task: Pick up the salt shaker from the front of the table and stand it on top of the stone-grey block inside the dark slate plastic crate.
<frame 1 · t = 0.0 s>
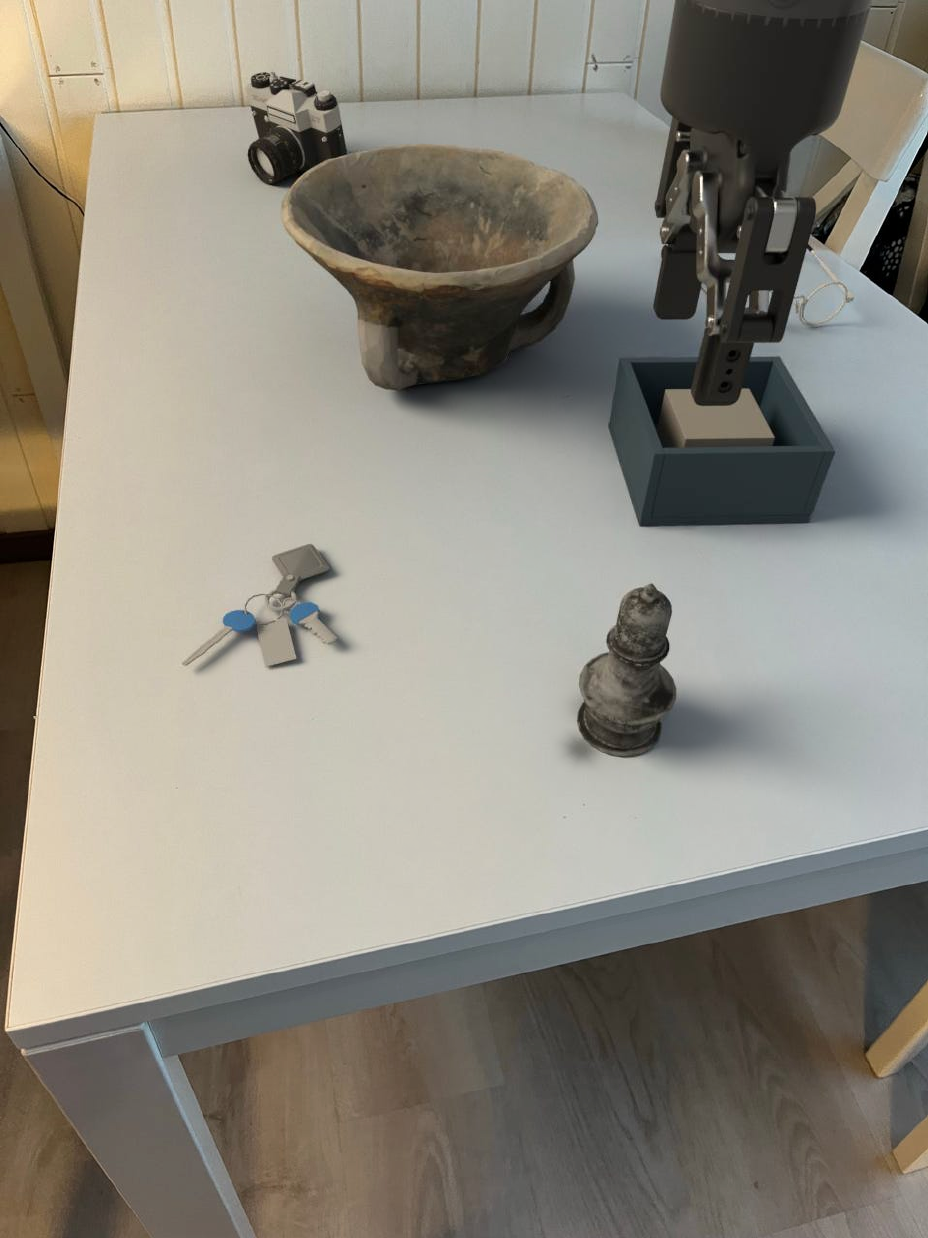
hand: (691, 356, 49), 22 cm above the table, tool pointing down, fingers open, 8 cm apart
block: (705, 464, 79), point 1 cm above the table, touching crate
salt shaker: (618, 725, 60), on the table
key chain: (291, 620, 66), on the table
eyeglasses: (747, 293, 103), on the table
crate: (703, 472, 79), on the table
bowl: (438, 358, 91), on the table
camera: (287, 173, 122), on the table
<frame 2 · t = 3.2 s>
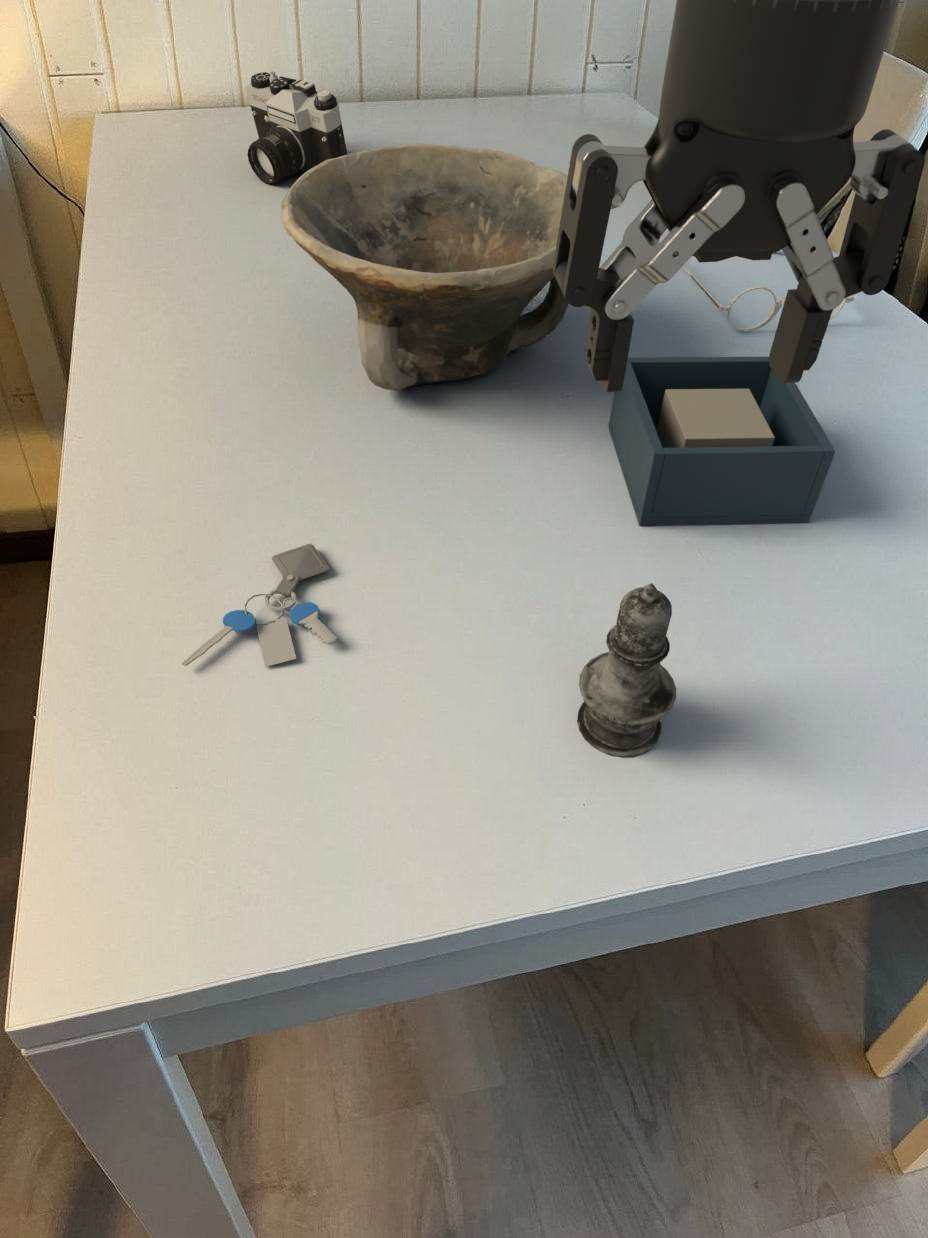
hand: (696, 378, 44), 24 cm above the table, tool pointing down, fingers open, 8 cm apart
nothing on the table moved.
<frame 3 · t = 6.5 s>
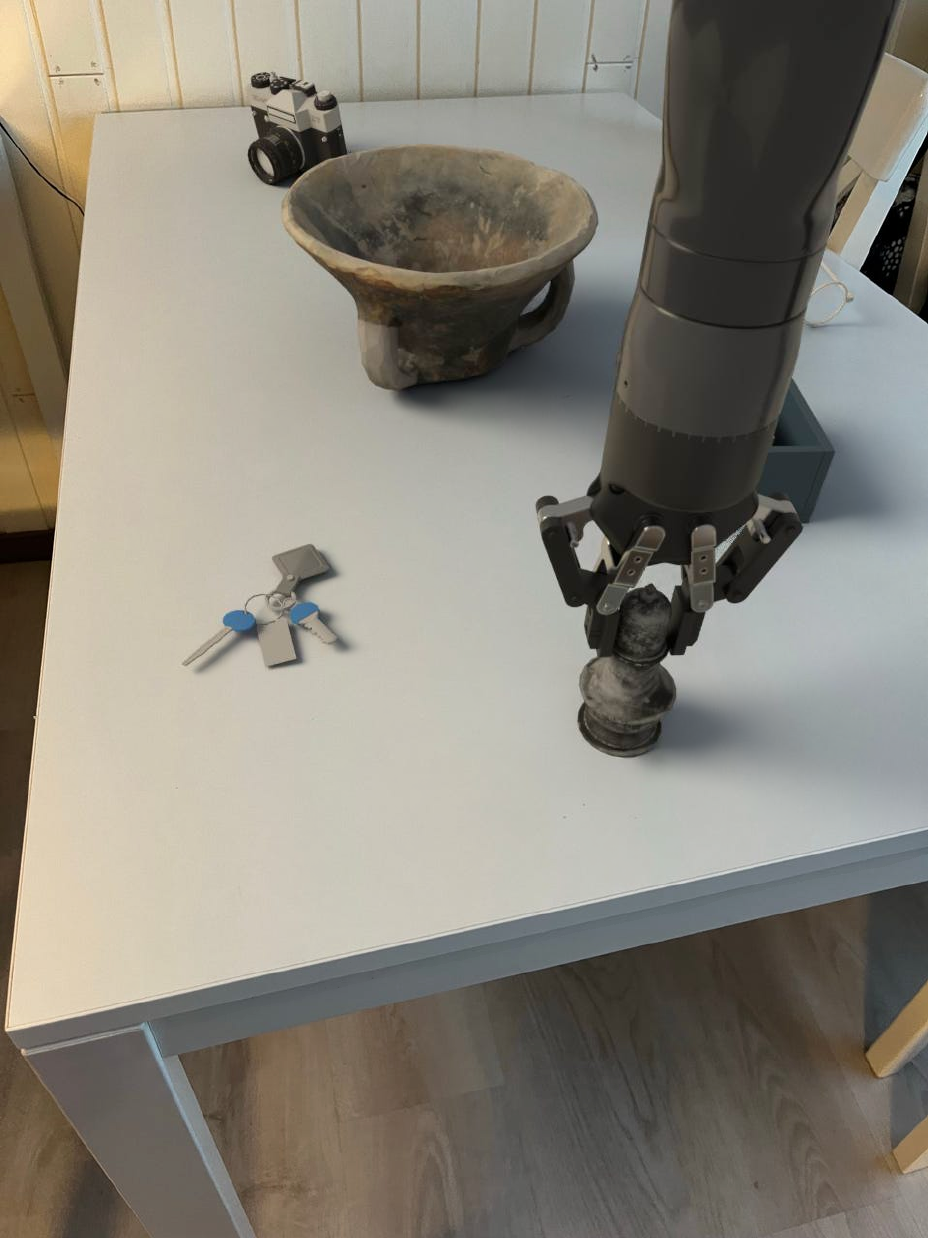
hand: (637, 644, 55), 7 cm above the table, tool pointing down, fingers closed on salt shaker, 3 cm apart
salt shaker: (618, 725, 60), on the table, touching gripper
everything else where it was.
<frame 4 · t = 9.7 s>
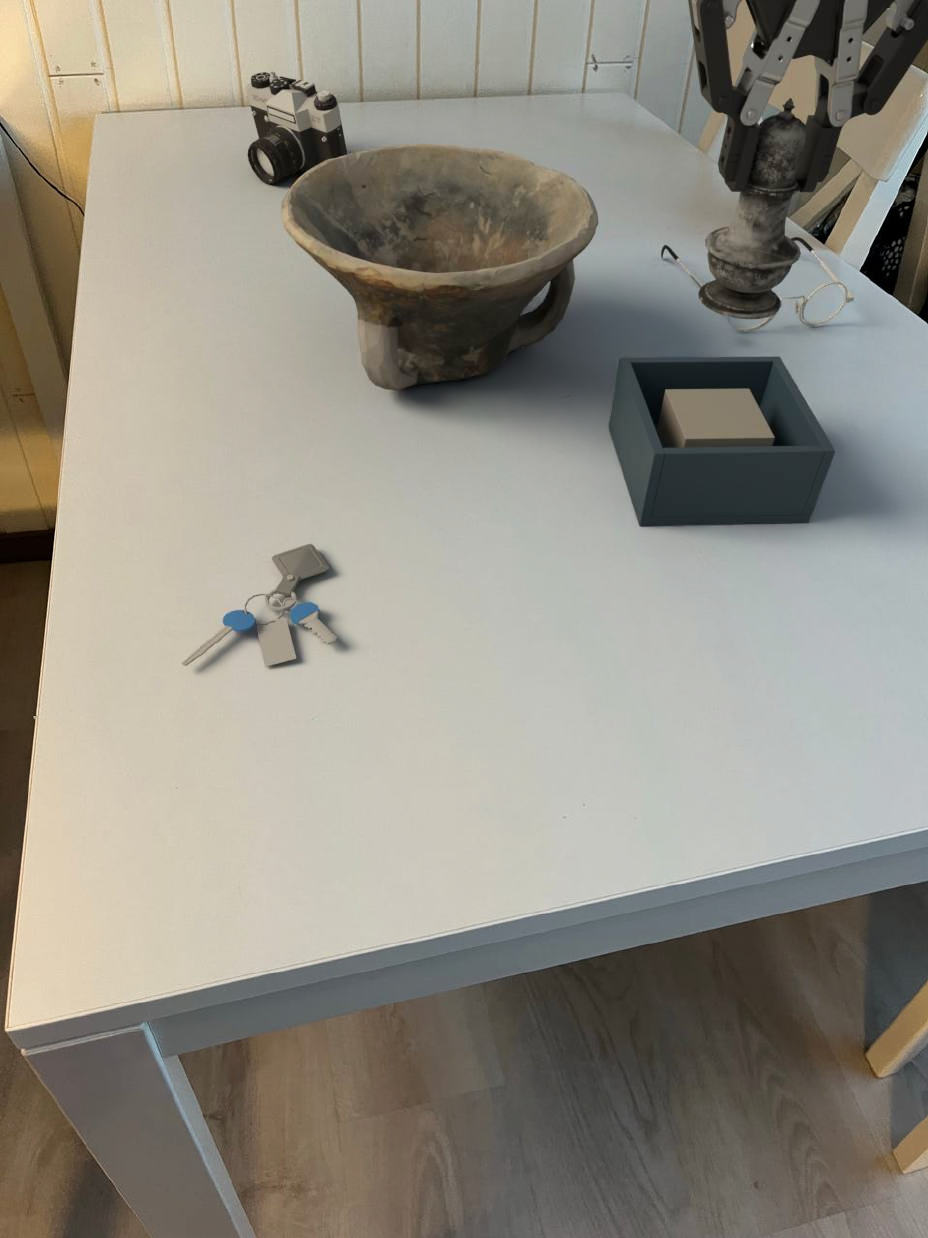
hand: (768, 185, 57), 25 cm above the table, tool pointing down, fingers closed on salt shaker, 3 cm apart
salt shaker: (738, 302, 62), point 18 cm above the table, touching gripper
everything else where it was.
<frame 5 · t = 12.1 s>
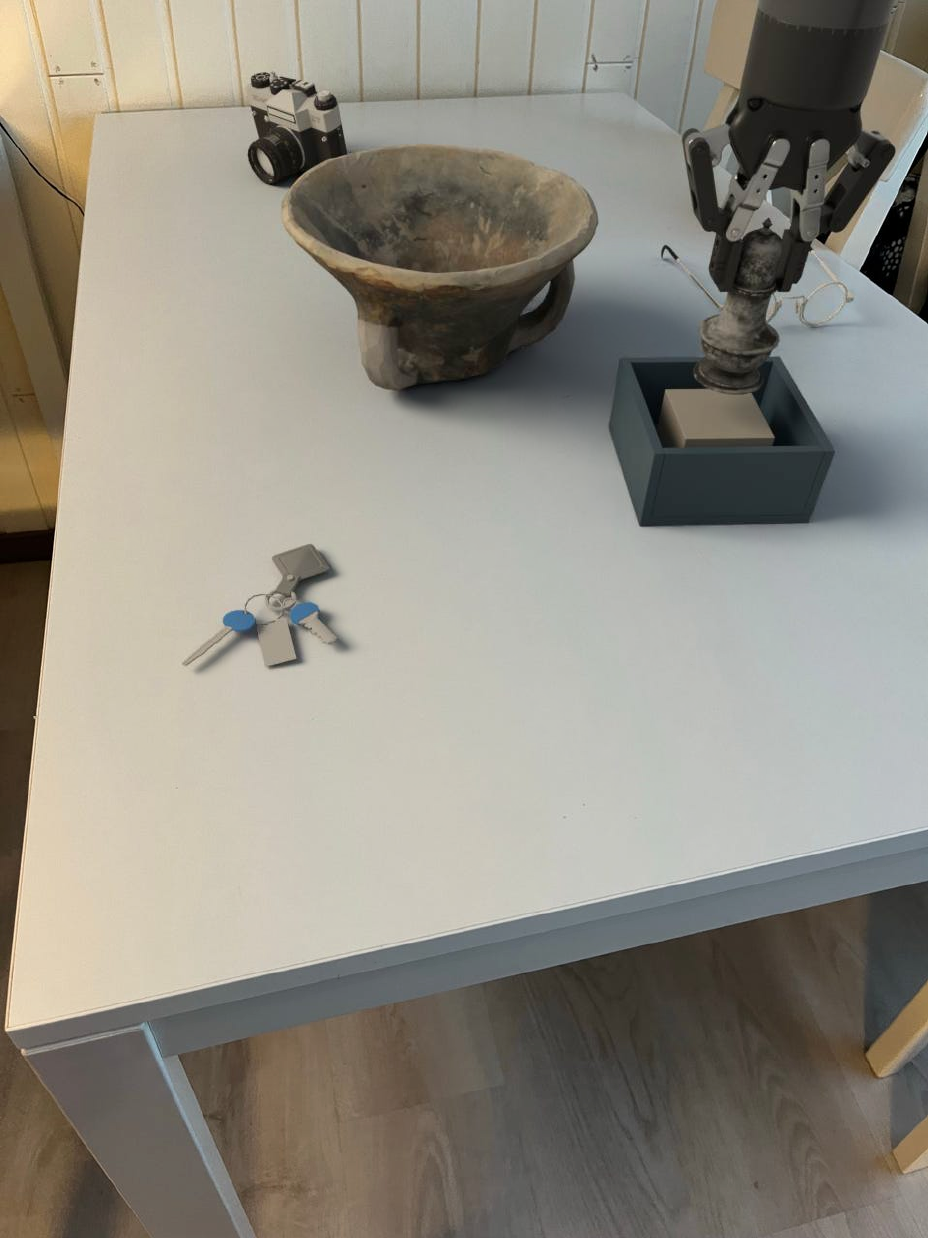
hand: (751, 285, 68), 16 cm above the table, tool pointing down, fingers closed on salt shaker, 3 cm apart
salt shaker: (727, 378, 73), point 9 cm above the table, touching gripper
everything else where it was.
when the fingers open (13 cm above the table, at t = 13.3 s): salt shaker stays where it is, resting on block.
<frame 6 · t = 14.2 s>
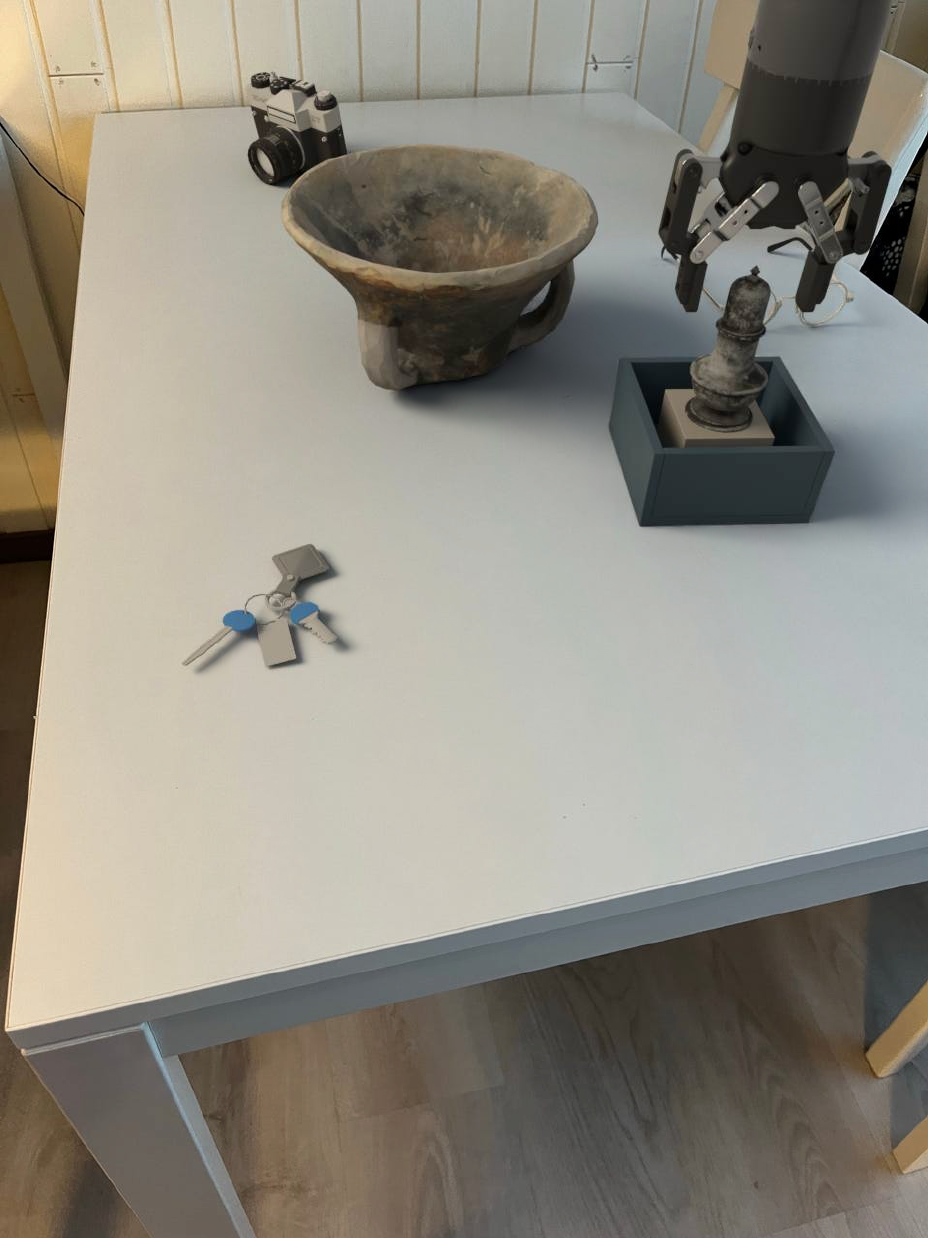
hand: (746, 307, 69), 15 cm above the table, tool pointing down, fingers open, 8 cm apart
block: (705, 464, 79), point 1 cm above the table, touching crate, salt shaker
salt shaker: (718, 415, 75), point 6 cm above the table, touching block
everything else where it was.
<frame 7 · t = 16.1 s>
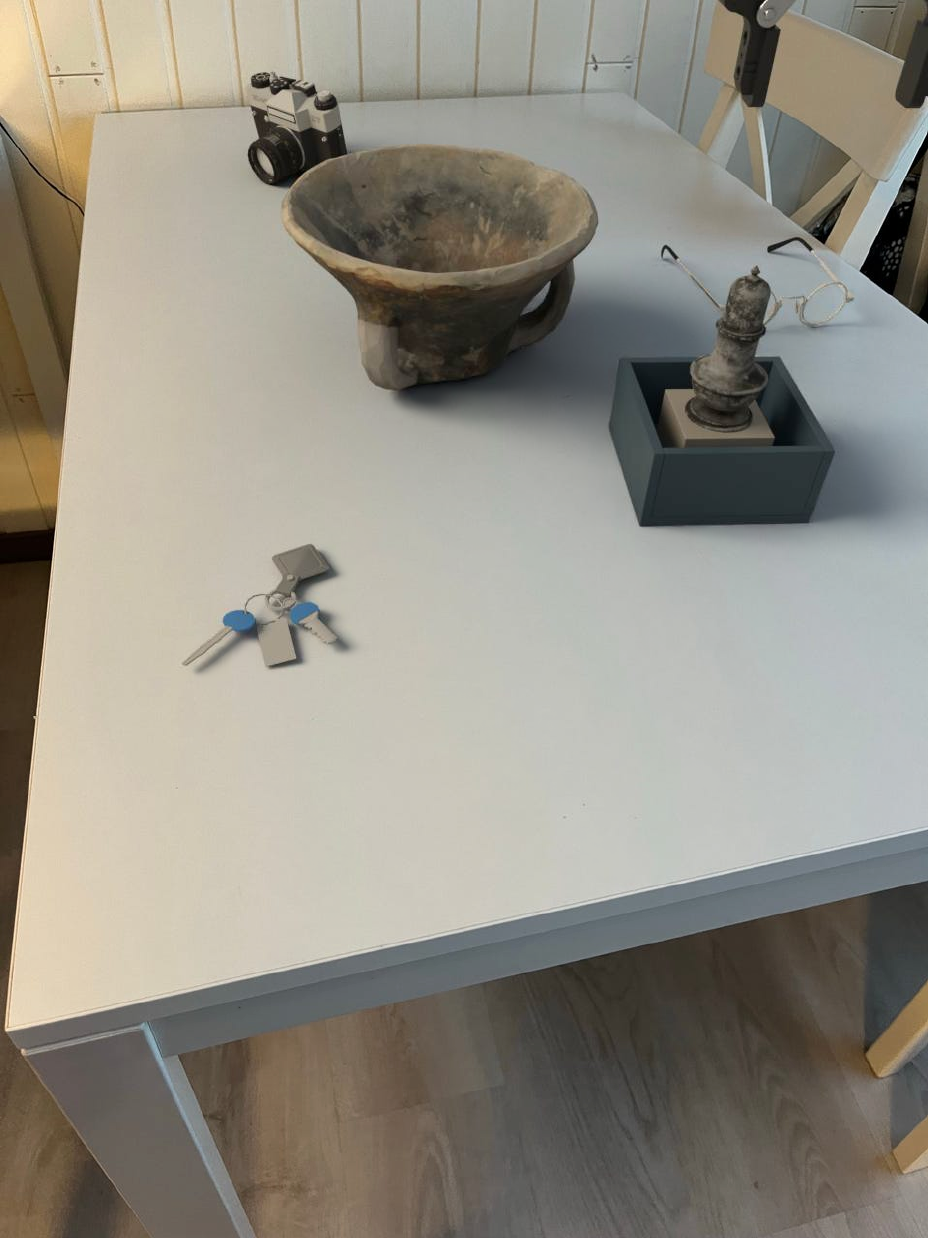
hand: (829, 103, 51), 31 cm above the table, tool pointing down, fingers open, 8 cm apart
nothing on the table moved.
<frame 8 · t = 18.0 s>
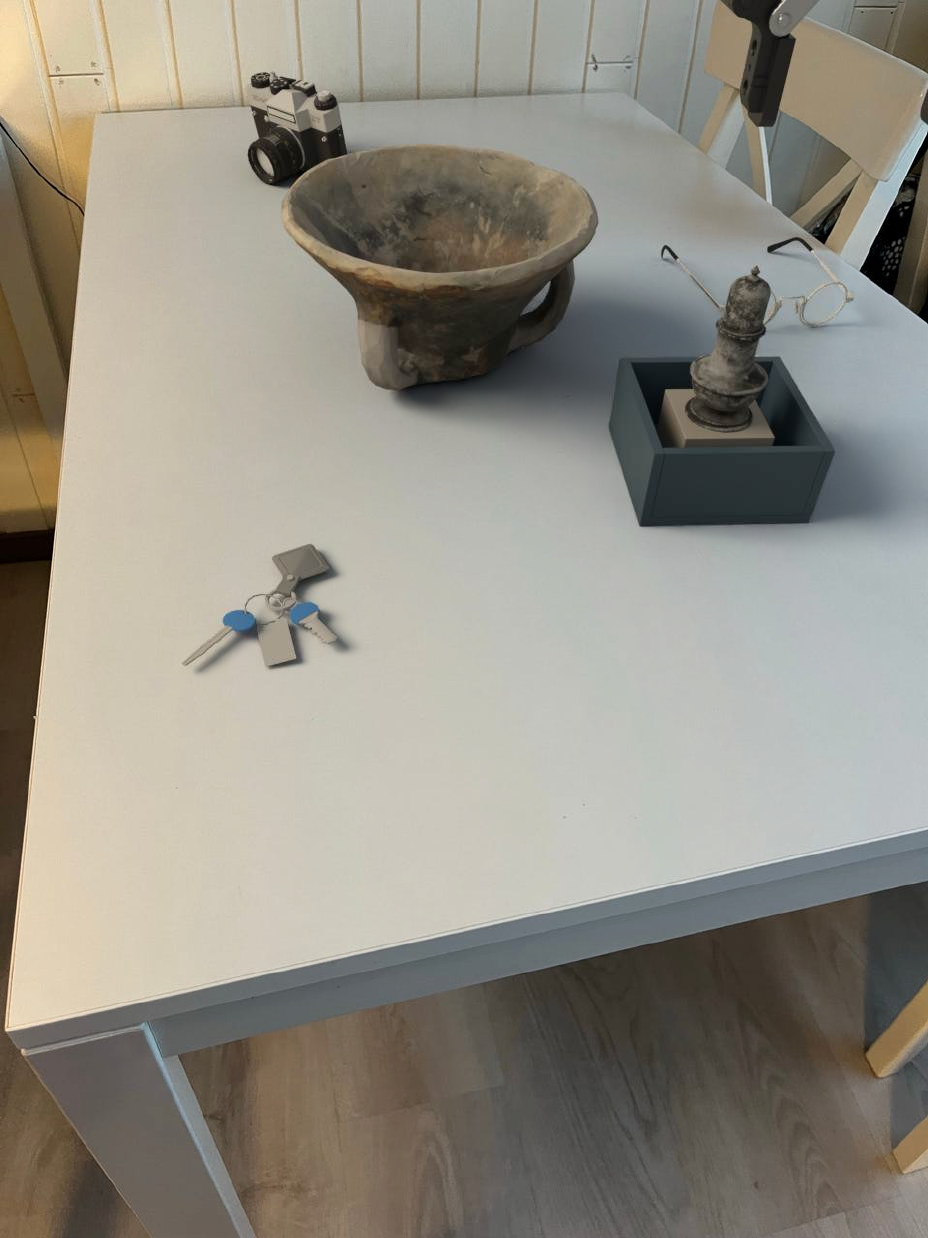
hand: (847, 123, 45), 32 cm above the table, tool pointing down, fingers open, 8 cm apart
nothing on the table moved.
at the end: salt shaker 0.1 cm off-centre on the block, point 4.8 cm above the block's base; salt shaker tilted 0°; block inside the target area in the crate (0.0 cm from its centre), point 0.8 cm above the crate's base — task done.
